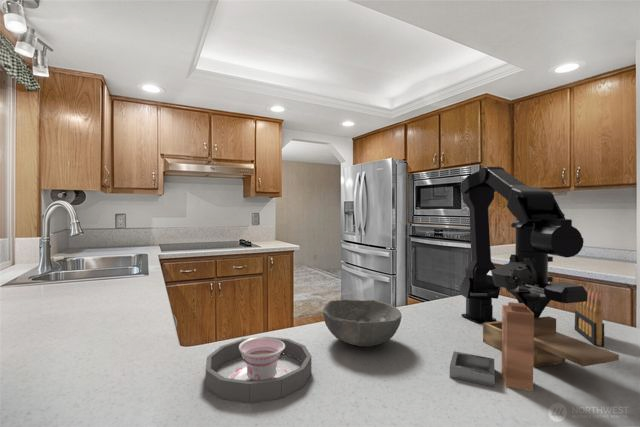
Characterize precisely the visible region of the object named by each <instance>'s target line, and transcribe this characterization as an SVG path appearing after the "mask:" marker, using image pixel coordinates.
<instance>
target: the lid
mask: <svg viewBox="0 0 640 427" xmlns="http://www.w3.org/2000/svg"><path fill="white" fill-rule="evenodd" d="M534 345H535V346H537V347H539V348H541V349H544V350H546V351H548V352H551V353H553V354H555V355H557V356H560V357H562V358H564V359H565V360H567V361H570V362H571V363H573V364H576V365H577V366H581V367H589V366H594V365H595V366H596V365H600V364H606V363H612V362H617V361H619V359H620V358H619V357H620V355H619V353H616V352H613V351H610V350H607V349H604V348H602V347H600V346H594V345H593V344H592V343H588V342H585V341H583V340H580V339H577V338H574V337H572V336H570V335H566V334H564V333H561V332H558V331H557V318H555V317H553V316H549V315H548V316H547V315H546V316H540V317H539V318H534Z"/></svg>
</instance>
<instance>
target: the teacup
mask: <svg viewBox="0 0 640 427" xmlns="http://www.w3.org/2000/svg"><path fill="white" fill-rule="evenodd" d="M268 337H269V336H259V337H250V338H251V339H248V338H247V339H248V340H245V341H243V342H242V343H240V345H239V350H240V353H241V355H242V356H241V357H242V359H243V361H244V362H245V364H244V365H243V366H240V367H237V368H235V369H234V370H233V371H231V372H230V373H229V374H228V376H227V377H226V378H230V379H237V380H245V381H249V379H250V380H251V381H257V380H264V379H271V378H278V377H281V376H283V375H285V374H286V373H290V372H292V371H293V370H292V369H291V368H290V366H287V365H284V364H283V363H278V361H279V359H280V355H282V354H281V353H282V351H283V350H284V348H285V344H284V343H283V342H282V341H280V340H278V339H275V338H276V337H275V338H268ZM277 367H278V368H279V369H282V370H283V371H284V372H285V373H283V374H281V375H280V373H281V372H279V373H278V371H277Z"/></svg>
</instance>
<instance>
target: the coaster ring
mask: <svg viewBox="0 0 640 427" xmlns="http://www.w3.org/2000/svg"><path fill="white" fill-rule="evenodd" d="M267 337H268V338H275V339H278V340H280V341H282V342H283V343H284V344H285V348H284V350H283V351H282V353H284V354H283V355H286V354H288V355H290V356H289V357H291V356H292V357H291V358H293V357H295V358H297V359H299V360H301V361H302V362H301V361H300V362H301V365H300V367H297V368H296V369H294V370H292V372H290V373H287V374H285V375H283V376H281V377H278V378H274V377H272V378H271V379H264V380H257V381H253V380H247V381H245V380H237V379H230V378H227V377H225V376H223V375H221V374H220V373H218V372H216V370H217V369H218V368H219V367H220V366H222V364H224V363H225V362H228V361H230V360H234V359H236V358H239V357H242V355H241V353H240V350H239V345H240V343H242V342H243V341H245V340H248V339H251V338H252V337H250V338H242V339H239V340H236V341H233V342H230V343H227V344H224V345H220V346H219V347H218V348H217V349H215V350H214V351H213V352H212V353H209V354H208V355H207V357H206V363H205V388H206V389H207V390H208V391H210V392H212V393H213V394H214V395H215V396H217V397H218V398H219V399H221V400H226V401H233V402H240V403H246V404H253V403H260V402H265V401H273V400H277V399H278V400H279V399H283V398H285V397H286V396H288V395H290V394H292V393H294V392H297V391H298V390H299V389H302V388H303V387H305V385H306V383H307V381H308V380H309V377H310V376H311V374H312V354H311V353H310V352H309V350H308V348H307V346H306V345H305V344H302V343H301V342H297V341H294V340H293V339H290V338H284V337H274V336H273V337H272V336H267ZM288 355H287V356H288ZM295 358H294V359H295ZM297 359H296V360H297ZM299 360H298V361H299ZM302 363H303V364H302ZM307 379H308V380H307Z"/></svg>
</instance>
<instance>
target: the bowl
mask: <svg viewBox="0 0 640 427" xmlns="http://www.w3.org/2000/svg"><path fill="white" fill-rule="evenodd" d="M324 306H325V307H324V308H323V311H322V313H323V314H322V315H323V320H324V324H325V326H326V327H327V329H328V330H329V332H330V333H331V334H332V335H333V336H334V337H335V338H336V339H338V340H339V341H342V342H345V343H347V344H350V345H353V346H357V347H372V346H377V345H381V344H384V343H386V342H387V341H389V340H391V339H392V338H393V337H394V335H395V334H396V333H397V330H398V329H399V327H400V325H401V321H402V312H401V310H400V309H399V308H397V307H396V306H394V305H391V304H390V303H386V302H383V301H378V300H375V299H365V300H359V299H338V300H337V299H336V300H329V301H328V302H327V303H326V304H325V305H324Z"/></svg>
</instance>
